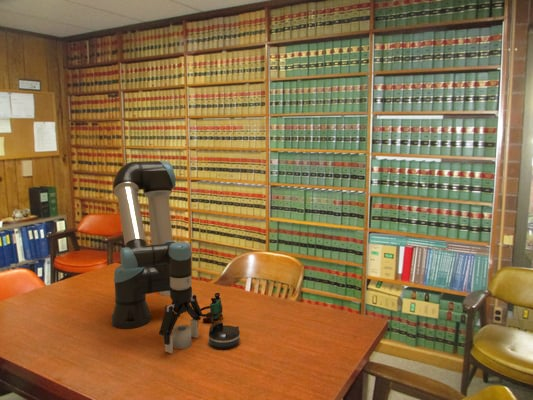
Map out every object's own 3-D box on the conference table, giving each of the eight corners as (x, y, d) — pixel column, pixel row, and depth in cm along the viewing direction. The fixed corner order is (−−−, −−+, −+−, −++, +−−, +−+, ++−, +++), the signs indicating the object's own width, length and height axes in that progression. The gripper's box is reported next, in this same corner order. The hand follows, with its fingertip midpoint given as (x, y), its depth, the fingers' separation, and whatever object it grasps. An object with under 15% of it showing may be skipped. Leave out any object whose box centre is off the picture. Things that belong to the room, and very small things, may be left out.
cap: (169, 346, 150) (168, 329, 149) (181, 338, 156) (180, 322, 155) (183, 350, 147) (182, 333, 146) (194, 343, 153) (194, 326, 152)
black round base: (202, 344, 151) (202, 330, 150) (220, 332, 161) (220, 319, 160) (228, 352, 146) (228, 337, 145) (245, 339, 155) (245, 325, 154)
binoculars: (201, 292, 176) (224, 291, 174) (204, 316, 178) (226, 316, 175) (193, 299, 168) (217, 299, 166) (196, 325, 169) (220, 325, 167)
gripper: (163, 300, 136) (165, 362, 139) (211, 278, 157) (211, 333, 160) (146, 295, 139) (149, 356, 142) (195, 275, 161) (196, 328, 164)
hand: (182, 344), depth 151 cm, fingers open, 13 cm apart
